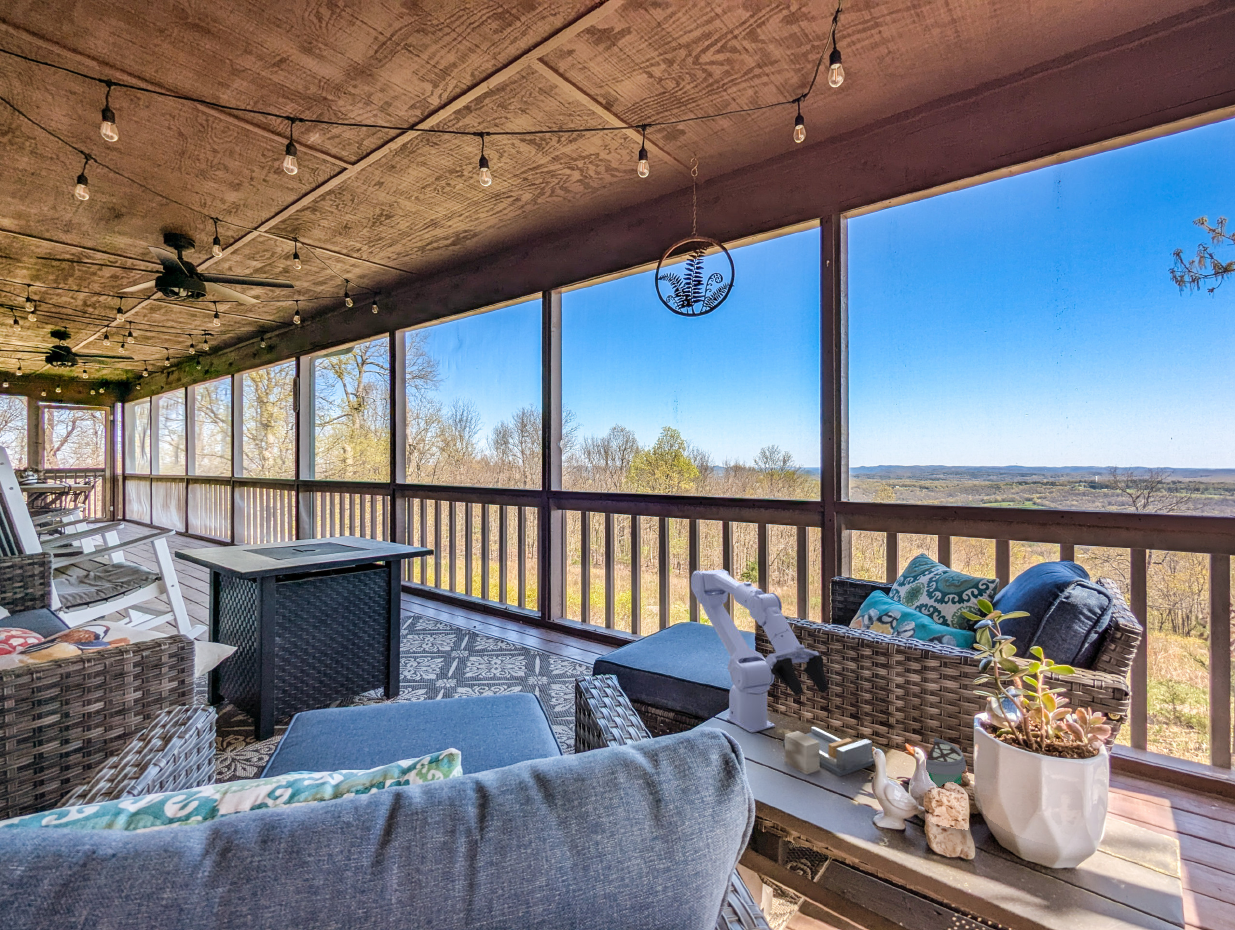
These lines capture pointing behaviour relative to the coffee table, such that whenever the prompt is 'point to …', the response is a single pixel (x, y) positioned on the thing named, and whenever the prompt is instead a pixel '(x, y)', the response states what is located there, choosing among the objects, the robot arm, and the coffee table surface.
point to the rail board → (842, 753)
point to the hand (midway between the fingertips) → (812, 692)
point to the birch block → (802, 752)
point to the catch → (838, 746)
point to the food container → (945, 763)
